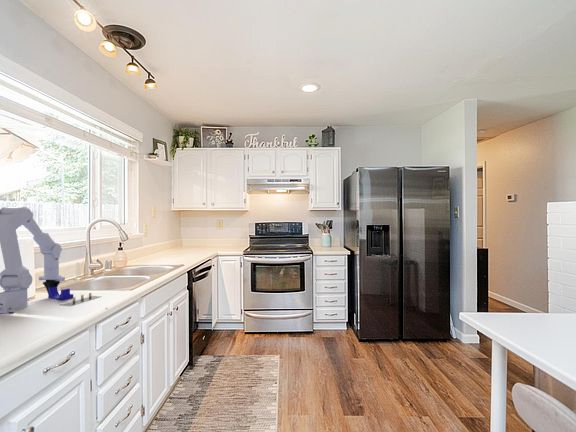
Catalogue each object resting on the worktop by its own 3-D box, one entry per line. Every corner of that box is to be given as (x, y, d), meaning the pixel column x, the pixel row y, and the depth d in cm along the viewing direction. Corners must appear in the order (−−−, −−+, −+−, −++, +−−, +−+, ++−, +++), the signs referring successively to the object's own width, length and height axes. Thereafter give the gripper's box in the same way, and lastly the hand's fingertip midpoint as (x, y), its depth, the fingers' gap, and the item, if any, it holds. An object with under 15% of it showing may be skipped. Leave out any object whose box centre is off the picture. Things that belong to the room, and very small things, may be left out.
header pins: (73, 303, 136) (73, 297, 136) (72, 303, 136) (72, 297, 136) (91, 298, 144) (91, 292, 144) (90, 298, 144) (90, 292, 144)
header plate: (70, 308, 131) (70, 305, 131) (58, 307, 133) (58, 304, 133) (102, 299, 147) (102, 296, 147) (91, 298, 149) (91, 295, 149)
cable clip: (73, 300, 145) (73, 287, 145) (63, 303, 141) (62, 290, 141) (58, 297, 150) (58, 285, 150) (48, 300, 146) (48, 287, 146)
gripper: (70, 266, 151) (71, 294, 151) (48, 265, 155) (49, 292, 155) (56, 269, 144) (56, 298, 144) (33, 268, 148) (34, 296, 148)
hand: (51, 295), depth 149 cm, fingers closed
